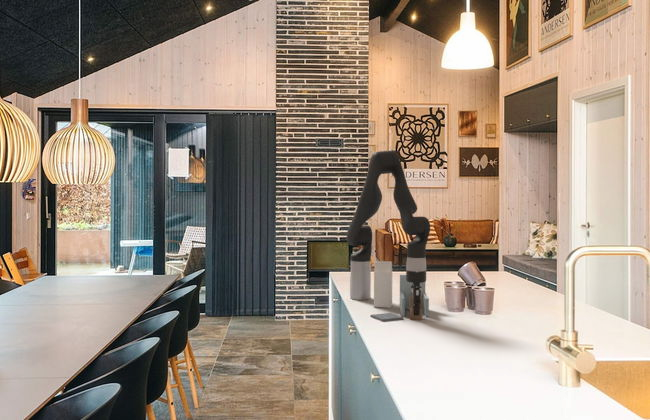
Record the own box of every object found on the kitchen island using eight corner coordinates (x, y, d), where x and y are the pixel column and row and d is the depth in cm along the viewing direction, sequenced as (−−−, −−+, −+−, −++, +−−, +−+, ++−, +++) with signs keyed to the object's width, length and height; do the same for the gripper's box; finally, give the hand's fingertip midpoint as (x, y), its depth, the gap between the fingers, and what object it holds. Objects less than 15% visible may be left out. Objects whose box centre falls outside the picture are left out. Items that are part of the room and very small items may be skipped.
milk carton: (390, 308, 236) (391, 262, 235) (373, 307, 237) (374, 262, 237) (392, 304, 243) (392, 260, 242) (375, 304, 244) (375, 260, 244)
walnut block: (409, 317, 218) (409, 293, 218) (421, 317, 217) (421, 294, 217) (410, 319, 213) (410, 296, 213) (422, 320, 213) (422, 296, 213)
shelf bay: (399, 308, 235) (399, 274, 235) (424, 308, 234) (425, 275, 234) (401, 316, 219) (401, 280, 219) (428, 317, 218) (428, 280, 218)
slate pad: (370, 316, 218) (370, 314, 218) (390, 314, 222) (390, 312, 222) (382, 321, 210) (382, 319, 210) (403, 319, 214) (403, 317, 214)
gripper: (405, 266, 222) (405, 310, 223) (407, 271, 208) (407, 317, 209) (424, 266, 222) (424, 310, 222) (428, 271, 207) (427, 318, 208)
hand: (415, 313), depth 215 cm, fingers closed on walnut block, 4 cm apart
